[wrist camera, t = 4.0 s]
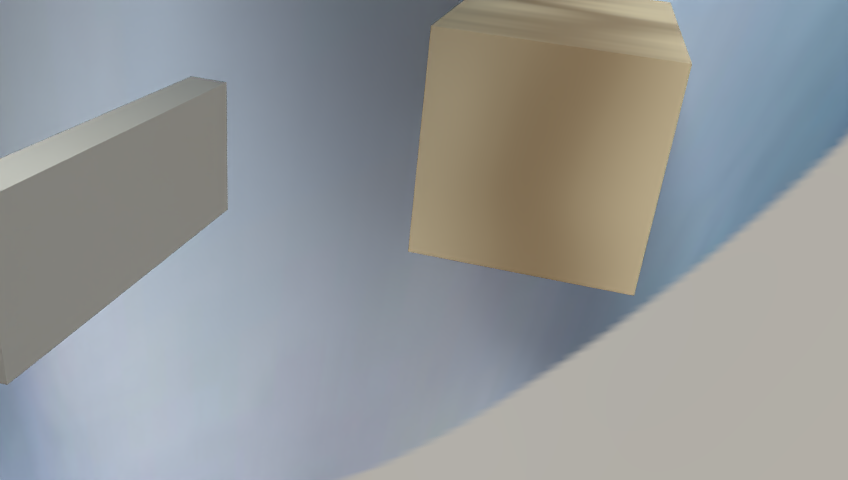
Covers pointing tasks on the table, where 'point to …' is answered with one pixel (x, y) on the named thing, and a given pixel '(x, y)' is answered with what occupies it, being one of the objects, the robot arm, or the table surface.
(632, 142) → the beech block
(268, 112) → the table surface
